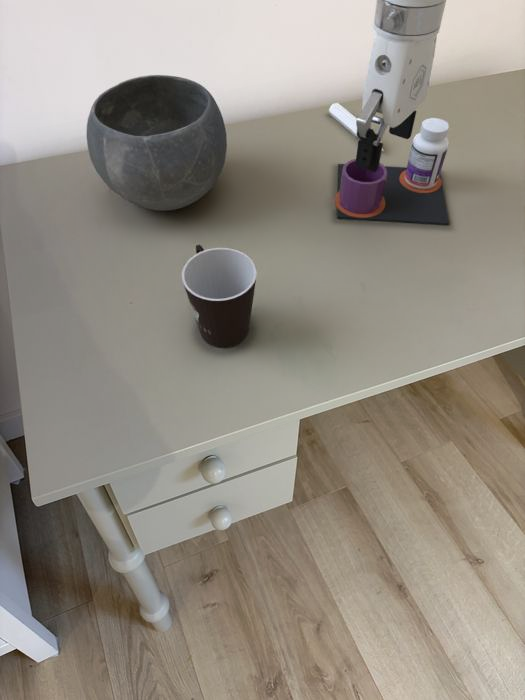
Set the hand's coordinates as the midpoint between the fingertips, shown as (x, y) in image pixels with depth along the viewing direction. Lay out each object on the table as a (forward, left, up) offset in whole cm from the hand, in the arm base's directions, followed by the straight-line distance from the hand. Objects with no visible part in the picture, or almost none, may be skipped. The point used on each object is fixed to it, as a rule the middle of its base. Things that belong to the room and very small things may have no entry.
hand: (383, 151), depth 73 cm
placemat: (-3, -6, -11) cm, 13 cm away
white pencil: (+2, -23, -12) cm, 26 cm away
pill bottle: (-8, -9, -11) cm, 17 cm away
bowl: (+33, -3, -12) cm, 35 cm away
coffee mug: (+20, +23, -12) cm, 32 cm away
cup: (+2, -3, -11) cm, 11 cm away
